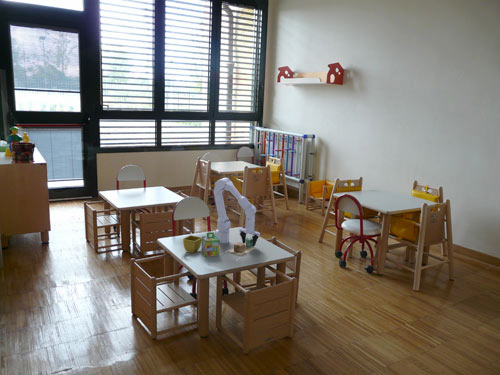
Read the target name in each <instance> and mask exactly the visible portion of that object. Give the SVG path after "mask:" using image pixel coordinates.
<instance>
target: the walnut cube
mask: <svg viewBox="0 0 500 375" xmlns="http://www.w3.org/2000/svg"><path fill="white" fill-rule="evenodd" d="M245 245H246V243H243V242H239V241H238V242H235V243H234V244H233V247H234V252H238V253H242V252H244V251H245Z"/></svg>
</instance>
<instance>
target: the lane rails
mask: <svg viewBox="0 0 500 375" xmlns="http://www.w3.org/2000/svg"><path fill="white" fill-rule="evenodd" d="M233 249H234V246H233V247H232V248H229V249H227V250H224V251H223V252H221V253H219V255H218V256H222V255H224V254H225V253H229V252H228V250H233ZM257 250H260V248H259V247H256V248H255V249H253V250H251V251H249V252H248V253H246V254H244V255H242V256H240V257H238V258H236V259H235V261H236V262H237V261H239V260H240V259H243V258H244V257H245V256H248V255H250V254H251V253H253V252H255V251H257Z"/></svg>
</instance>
